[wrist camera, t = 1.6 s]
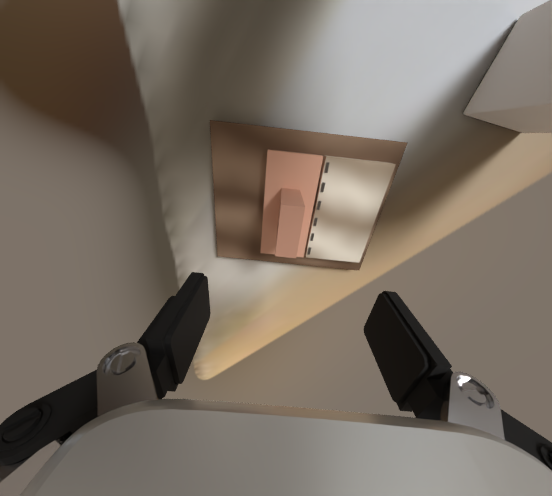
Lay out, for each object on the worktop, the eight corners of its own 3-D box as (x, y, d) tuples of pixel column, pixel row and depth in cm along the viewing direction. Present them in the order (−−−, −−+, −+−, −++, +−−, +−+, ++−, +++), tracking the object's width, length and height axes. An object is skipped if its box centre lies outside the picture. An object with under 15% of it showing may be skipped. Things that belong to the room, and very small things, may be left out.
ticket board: (214, 121, 21) (205, 119, 18) (399, 142, 21) (415, 143, 19) (220, 250, 29) (214, 261, 26) (355, 264, 29) (362, 276, 27)
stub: (268, 149, 21) (261, 155, 14) (321, 155, 21) (337, 163, 14) (261, 248, 27) (254, 283, 20) (302, 252, 27) (308, 288, 20)
